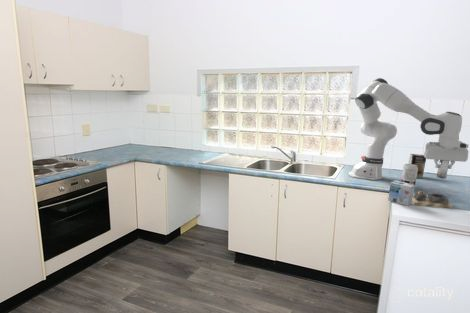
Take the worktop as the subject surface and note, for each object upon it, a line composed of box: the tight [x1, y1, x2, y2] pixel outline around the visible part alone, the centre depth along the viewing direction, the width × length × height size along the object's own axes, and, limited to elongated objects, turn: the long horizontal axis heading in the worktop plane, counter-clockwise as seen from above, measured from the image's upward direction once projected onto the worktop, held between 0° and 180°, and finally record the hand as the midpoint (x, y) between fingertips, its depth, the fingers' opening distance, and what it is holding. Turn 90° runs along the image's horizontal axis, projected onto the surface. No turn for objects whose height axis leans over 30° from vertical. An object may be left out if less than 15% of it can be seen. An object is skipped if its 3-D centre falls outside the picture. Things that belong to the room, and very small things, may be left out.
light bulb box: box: [387, 179, 416, 207], centre depth 176 cm, size 11×7×11 cm, turn 45°
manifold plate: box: [412, 190, 453, 209], centre depth 176 cm, size 18×12×6 cm, turn 80°
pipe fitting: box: [436, 160, 450, 180], centre depth 172 cm, size 4×4×10 cm
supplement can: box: [400, 163, 418, 189], centre depth 201 cm, size 8×8×15 cm
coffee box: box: [407, 153, 427, 179], centre depth 228 cm, size 9×6×16 cm
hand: (443, 168), depth 172 cm, fingers closed on pipe fitting, 4 cm apart
